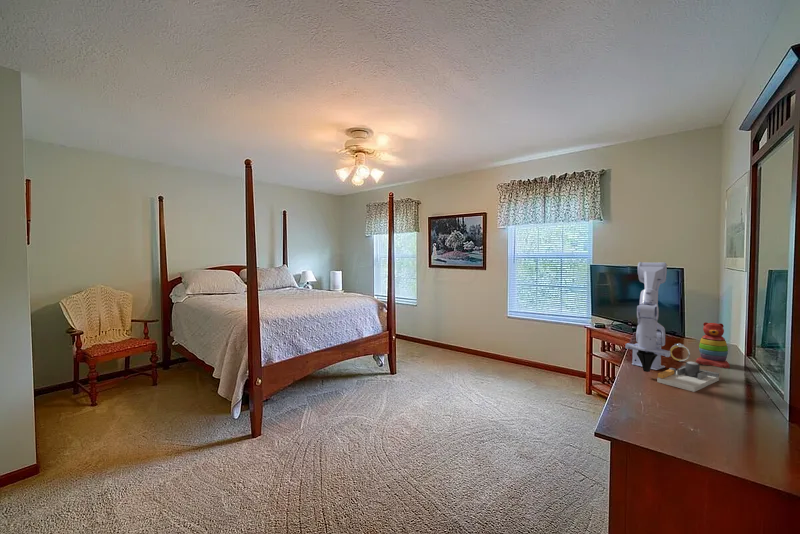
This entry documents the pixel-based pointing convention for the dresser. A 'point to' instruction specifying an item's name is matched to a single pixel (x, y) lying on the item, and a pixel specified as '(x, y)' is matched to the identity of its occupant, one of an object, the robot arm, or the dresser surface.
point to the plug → (692, 369)
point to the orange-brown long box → (667, 373)
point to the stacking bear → (713, 346)
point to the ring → (677, 347)
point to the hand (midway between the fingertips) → (646, 371)
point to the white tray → (690, 379)
